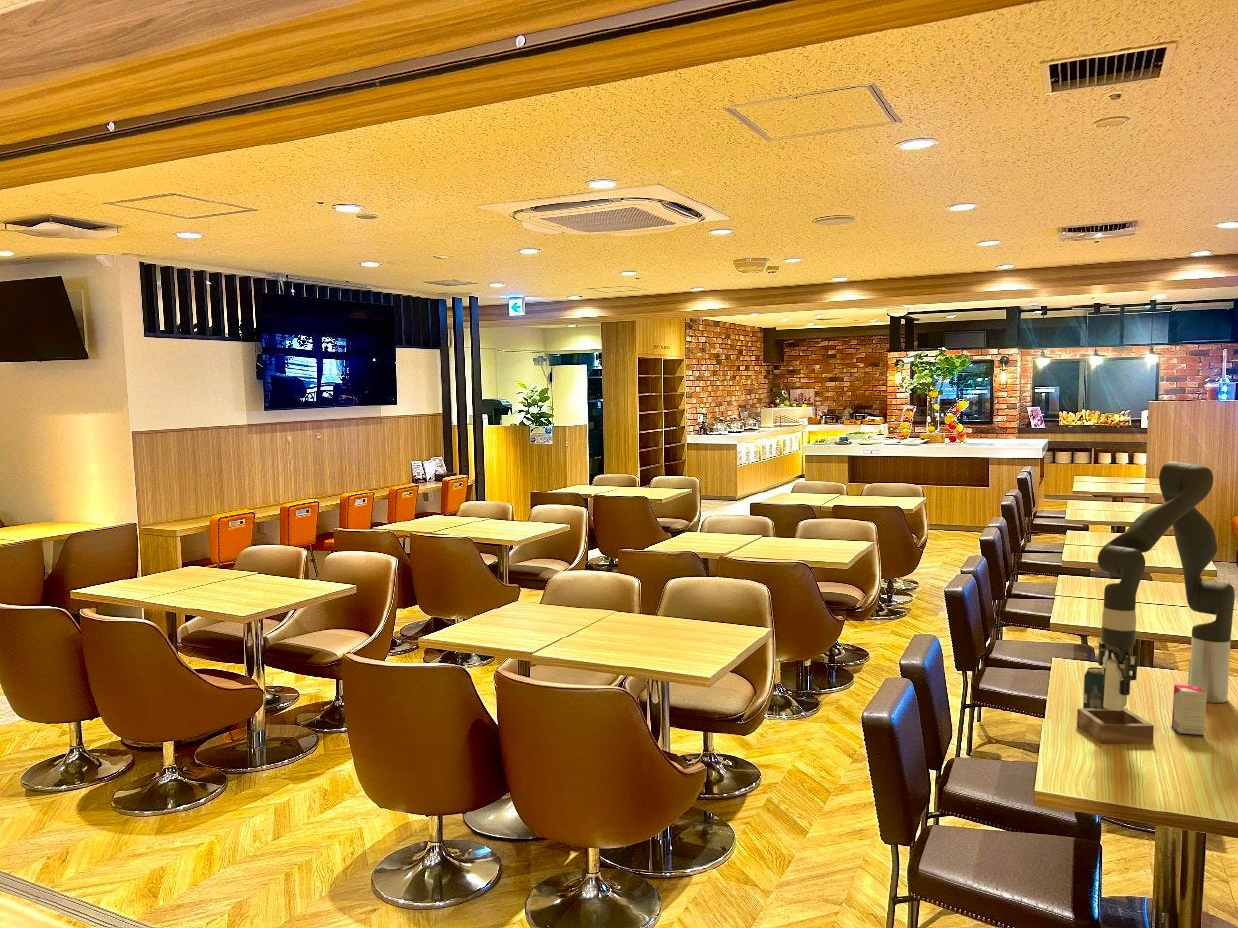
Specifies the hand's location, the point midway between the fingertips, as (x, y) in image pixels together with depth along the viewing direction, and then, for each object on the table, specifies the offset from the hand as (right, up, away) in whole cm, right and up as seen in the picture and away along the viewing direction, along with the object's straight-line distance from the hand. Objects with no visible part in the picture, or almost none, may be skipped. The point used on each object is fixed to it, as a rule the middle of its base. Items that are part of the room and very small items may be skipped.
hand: (1116, 689), depth 235 cm
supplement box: (+19, -12, +2) cm, 23 cm away
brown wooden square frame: (0, -11, +1) cm, 12 cm away
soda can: (+3, -11, +16) cm, 19 cm away
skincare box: (0, -5, 0) cm, 5 cm away
